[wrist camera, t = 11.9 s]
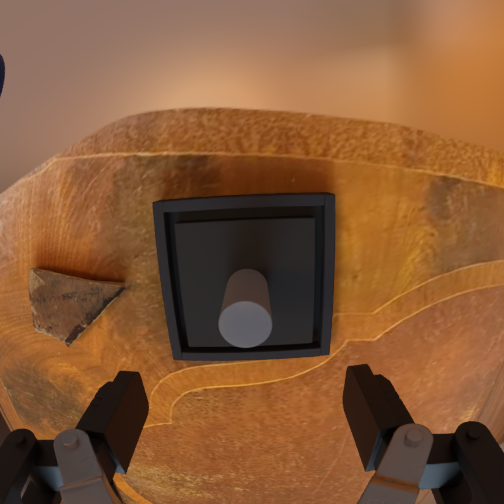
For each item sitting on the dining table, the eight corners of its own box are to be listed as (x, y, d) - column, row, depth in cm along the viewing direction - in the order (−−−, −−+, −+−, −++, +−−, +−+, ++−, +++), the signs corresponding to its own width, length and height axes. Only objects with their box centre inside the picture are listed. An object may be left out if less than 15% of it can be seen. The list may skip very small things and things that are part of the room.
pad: (177, 221, 23) (146, 241, 16) (312, 215, 23) (337, 233, 16) (191, 339, 25) (172, 392, 18) (310, 335, 25) (327, 388, 18)
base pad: (160, 200, 23) (152, 202, 21) (328, 192, 23) (335, 194, 21) (178, 348, 26) (173, 360, 24) (324, 343, 26) (329, 355, 24)
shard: (132, 281, 25) (124, 289, 23) (133, 356, 27) (127, 366, 25) (35, 262, 25) (25, 267, 23) (43, 331, 26) (34, 338, 25)
